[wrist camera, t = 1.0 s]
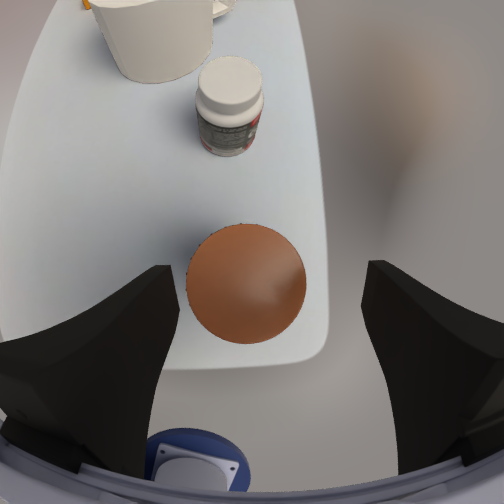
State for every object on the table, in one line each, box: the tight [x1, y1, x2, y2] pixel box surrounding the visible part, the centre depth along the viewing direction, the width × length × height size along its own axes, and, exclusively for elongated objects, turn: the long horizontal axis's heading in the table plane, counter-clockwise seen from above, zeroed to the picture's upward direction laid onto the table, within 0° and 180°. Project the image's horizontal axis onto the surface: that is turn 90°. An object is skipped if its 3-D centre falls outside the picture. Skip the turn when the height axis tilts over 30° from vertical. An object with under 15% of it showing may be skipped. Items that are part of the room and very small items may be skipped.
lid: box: [186, 223, 306, 344], centre depth 14 cm, size 6×6×2 cm
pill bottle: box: [195, 56, 264, 156], centre depth 20 cm, size 5×5×8 cm
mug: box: [88, 0, 236, 83], centre depth 19 cm, size 14×10×11 cm
